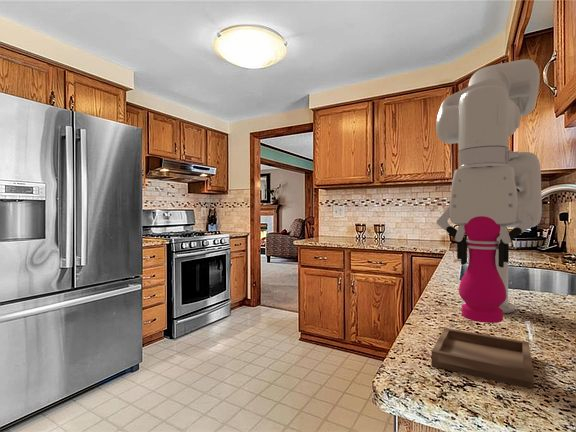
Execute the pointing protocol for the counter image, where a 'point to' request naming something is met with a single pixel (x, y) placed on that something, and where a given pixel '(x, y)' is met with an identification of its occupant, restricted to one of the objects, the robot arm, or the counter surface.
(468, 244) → the pepper mill
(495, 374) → the tray
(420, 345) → the counter surface
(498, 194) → the robot arm
